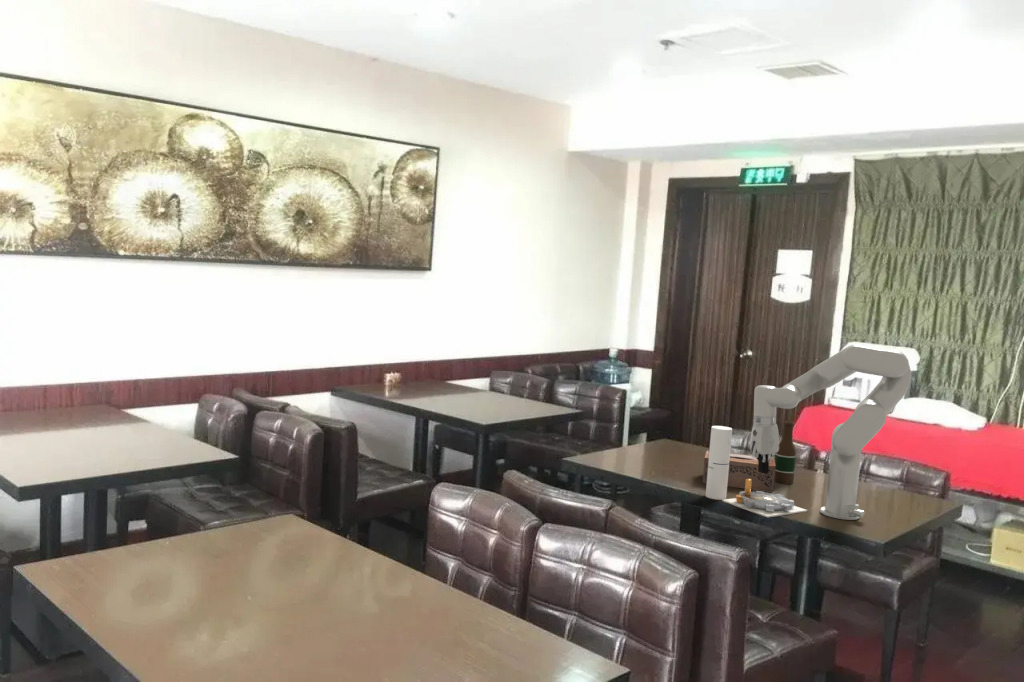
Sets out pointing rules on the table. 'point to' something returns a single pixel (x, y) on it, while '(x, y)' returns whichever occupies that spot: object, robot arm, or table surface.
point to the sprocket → (763, 499)
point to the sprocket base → (764, 512)
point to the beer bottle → (785, 456)
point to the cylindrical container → (718, 462)
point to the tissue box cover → (745, 472)
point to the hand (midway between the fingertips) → (763, 472)
